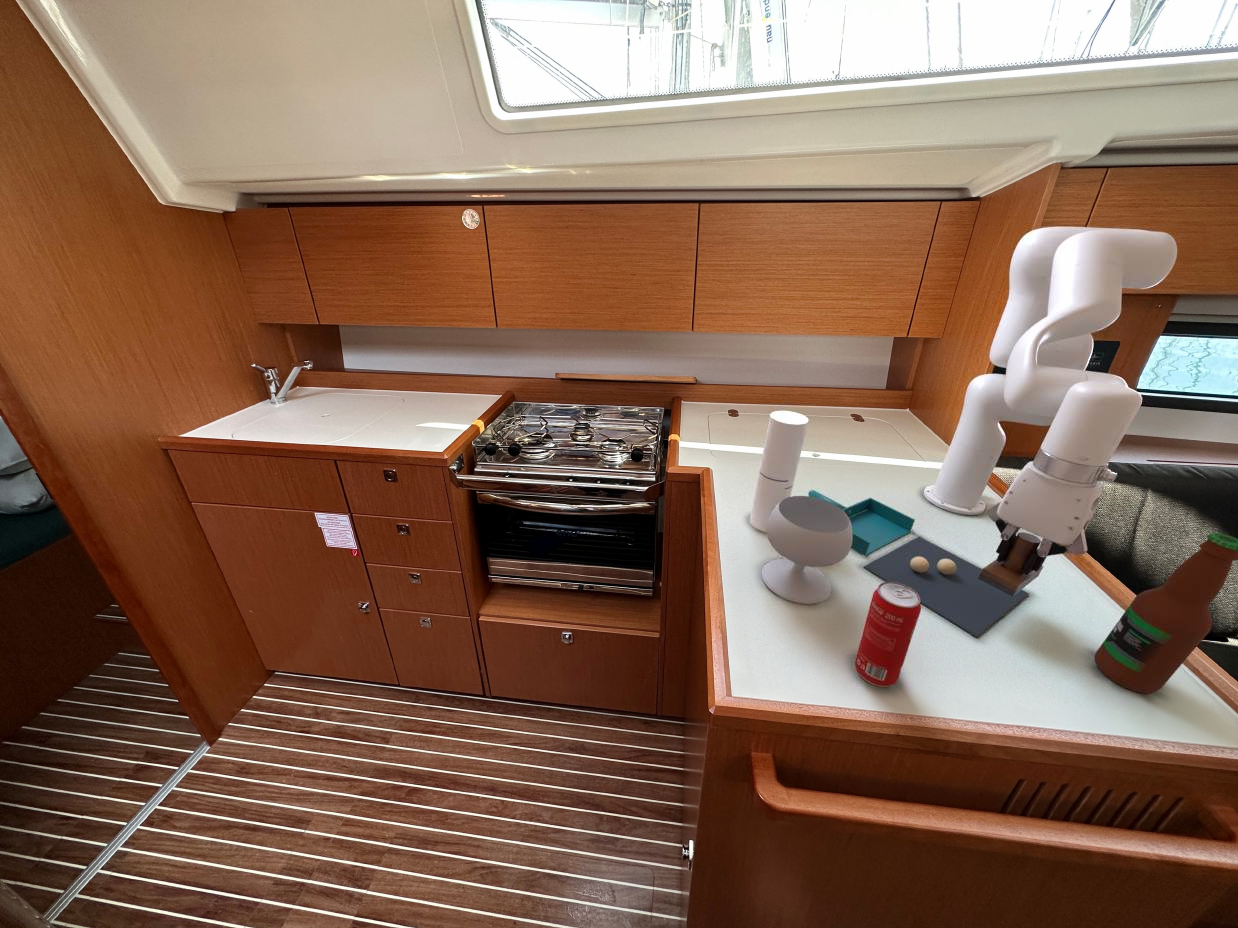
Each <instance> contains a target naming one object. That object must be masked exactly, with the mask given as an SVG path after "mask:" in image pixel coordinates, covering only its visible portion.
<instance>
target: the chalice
mask: <svg viewBox="0 0 1238 928" xmlns="http://www.w3.org/2000/svg"><path fill="white" fill-rule="evenodd" d="M849 518H850V517H848V516H847V514H846V513H845V512H844V511H843V510H842V509H840V508H839V507H838V506H836V505H834V504H832V503H830V502H827V501H825V500H822V499H819V498H814V497H809V496H807V495H794V496H792V495H791V497H788V498H785V499H783V500H782V501H781V502H779V503H778V504H777V505H776V507H775V508H774V510H773V511H772V513H771V514H770V516H769V519H768V521H767V527H766V532H765V533H766V536H767V537H766V538H767V540H768V542H769V544H770V545H771V547H772V549H774V551H776V552H777V554H779V555H780V556H782V557H783V558H777V559H773V560H772V559H771V560H769V561H768V562H766V563H765V564H764V565H763V567H762V569H761V578H762V580H763V582H764V584H765V585H766V586H767V587H768V588H769V589H770V590H771V591H772V592H773V593H774V594H776V595H778V596H779V597H781V598H783V599H786V600H787V601H791V602H795V603H800V604H818V603H821V602H823V601H825V600H826V599H828V598H829V596H830V595H831V590H832V587H831V583H830V581H829V580H828V578H827V577H826V576H825V575H824V573H822V572H821V571H820V570H819V569H817V568H827V567H831V566H834V565H837V564H839V563H841V562H842V561H843V560H844V559H845V558H846V557H848V555H849V553H850V551H851V549H852V548H851V546H852V539H853V534H852V525H851V522H850V519H849Z"/></svg>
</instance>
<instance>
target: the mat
mask: <svg viewBox="0 0 1238 928" xmlns="http://www.w3.org/2000/svg"><path fill="white" fill-rule="evenodd" d="M915 557H923V558H925V559H926V560H927V561H928V563H929V568H928V570H927V571H925V572H923V573H919V572H916V571H914V570H913V569H912V568H911V566H910V562H911V560H912V559H913V558H915ZM942 559H950V560H952V561H953V562H954V563H955V564H956V571H955V572H954V573H953V574H951V575H945V574H942V573H941V572H940V571H939V570H938V568H937V564H938V562H939V561H940V560H942ZM862 567H863V569H864V570H867V571H868V572H869V573H871V574H872V575H874V576H876V577H878V578H879V579H881V580H882V581H883V582H897V583H901V584H904V585H906V586H908V587H910V588H912V589H913V590H914V591H915V592H916V593H917V594H918V595H919V597H920V604H921V605H922V606H924V607H926V608H927V609H929V610H931V611H933V612H934V613H935V614H936V615H938V616H940V617H942V618H943V619H945V620H947V621H948V622H950V623H951V624H953V625H955V626H957V627H958V628H960V629H961V630H963V631H965V632H966V633H968V634H969V635H971V636H973V637H974V638H976V639H977V638H978V637H980V636H981V635H982V634H983V633H984V632H985V631H987V630H988V629H989V628H990V627H992V626H993V625H994V624H995V623H996V622H998V621H999V620H1000V619H1001V618H1002V617H1003V616H1005V615H1006V614H1007V613H1009V611H1011V610H1013V609H1014V607H1016V606H1017V605H1018V604H1020V603H1021V602H1022V601H1023V600H1024V599H1025V598H1026V597H1028V596H1029V595H1030V593H1029V592H1028V591H1025V590H1023V589H1022V590H1020V591H1019V592H1018V593H1017V594H1015V595H1014V596H1013V597H1012V596H1010V595H1008V594H1006V593H1004V592H1003V591H1001V590H999V589H997V588H995V587H993V586H991V585H989V584H987V583H986V582H984V581H982V580H980V579H978V578H979V575H980V574H981V571H982V569H983V568H981V567H979V566H977V565H975V564H973V563H972V562H969V561H967V560H965V559H964V558H962V557H960V556H958V555H956V554H954V553H952V552H950V551H948V550H946V549H944V548H942V547H940V546H939V545H936V544H934V543H932V542H931V541H930V540H929V541H928V540H927V539H925V538H923V537H921V536H917V537H915V538H913V539H912V540H910V541H907V542H906V543H904V544H903V545H900V546H899V547H897V548H895V549H893V550H892V551H890V552H888V553H886V554H884V555H882V556H880V557H878V558H877V559H875V560H872V561H870V563H868V564H865V565H864V566H862Z"/></svg>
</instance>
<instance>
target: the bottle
mask: <svg viewBox="0 0 1238 928" xmlns="http://www.w3.org/2000/svg"><path fill="white" fill-rule="evenodd" d="M1206 538H1207V540H1205V541H1204V542H1202V543H1201V544H1199V548H1200V549H1198V550H1197V551H1196V552H1194V553H1193V554H1192V555H1191V556H1190V557H1188V558H1187V559H1186V560H1185V561H1183V562H1182V563H1181V564H1180V565H1179V566H1178V567H1177V568H1176V569H1175V570H1174V571H1173V572H1172V573H1171V574H1170V576H1168V578H1167V579H1166V581H1165V583H1164V584H1163V585H1161V586H1159V587H1155V588H1151V589H1147V590H1144V591H1142V592H1140V593H1138V594H1137V595H1135V597H1134V599H1133V600H1132V601H1131V603H1130V604H1129V605H1128V607H1127V608H1126V609H1125V611H1124V613H1123V614H1122V615H1121V617H1120V619H1119V620H1117V622H1116V624H1115V625H1114V626H1113V627H1112V629H1111V630H1110V632H1109V633H1108V635H1107V636H1106V638H1105V639H1104V640H1103V642H1102V644H1101V645H1100V646H1099V647H1098V648H1097V650H1096V652H1095V653H1094V656H1093V660H1094V663H1095V665H1096V667H1097V668H1098V670H1099V671H1100V673H1102V674H1103V675H1104V676H1105V677H1106V678H1107V679H1109V680H1110V681H1112V682H1113V683H1115V684H1117V685H1119V686H1120V687H1123V688H1125V689H1128V690H1130V691H1133V692H1136V693H1140V694H1141V693H1142V694H1153V693H1157V692H1158V691H1160V690H1161V689H1162V688H1163V687H1164V686H1165V685H1166V683H1167V682H1168V681H1169V680H1170V679H1171V678H1172V676H1173V675H1174V674H1175V673H1176V672H1177V670H1178V669H1179V668H1180V667H1181V666H1182V665H1183V663H1184V662H1185V661H1186V660H1187V659H1188V658H1189V657H1190V655H1191V654H1192V653H1193V652H1194V651H1195V650H1196V648H1197V647H1198V646H1199V645H1200V644H1201V642H1203V640H1204V639H1205V638H1206V636H1207V635H1208V634H1209V633H1210V631H1211V630H1212V626H1213V621H1212V617H1211V613H1210V609H1209V606H1210V604H1211V603H1212V602H1213V601H1214V600H1215V599H1216V597H1217V596H1218V594H1219V592H1220V591H1221V589H1222V588H1223V587H1224V584H1225V583H1226V581H1227V577H1228V575H1229V573H1230V571H1231V568H1232V566H1233V561H1238V538H1236V537H1234V536H1231V535H1228V534H1224V533H1219V532H1213V533H1209V534H1207V535H1206Z"/></svg>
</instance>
